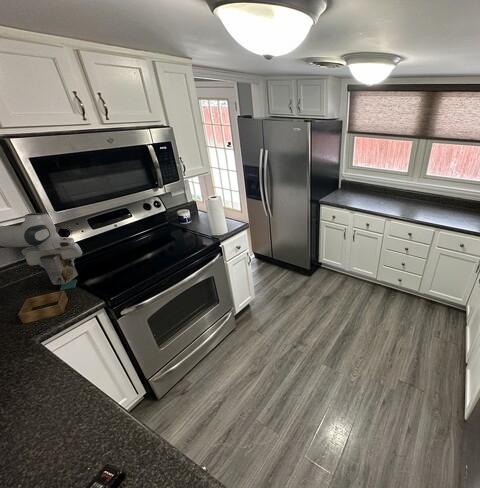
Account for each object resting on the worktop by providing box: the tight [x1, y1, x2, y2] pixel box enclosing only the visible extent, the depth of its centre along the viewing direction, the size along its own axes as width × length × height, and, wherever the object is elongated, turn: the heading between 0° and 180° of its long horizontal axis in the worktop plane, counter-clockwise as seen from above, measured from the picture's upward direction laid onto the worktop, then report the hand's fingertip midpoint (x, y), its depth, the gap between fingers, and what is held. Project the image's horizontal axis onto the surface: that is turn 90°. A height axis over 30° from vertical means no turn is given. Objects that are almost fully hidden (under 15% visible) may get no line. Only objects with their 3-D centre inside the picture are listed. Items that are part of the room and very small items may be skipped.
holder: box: [17, 290, 69, 324], centre depth 122 cm, size 13×13×5 cm
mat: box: [59, 279, 78, 291], centre depth 141 cm, size 6×8×1 cm
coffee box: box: [40, 254, 79, 286], centre depth 136 cm, size 9×6×16 cm
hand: (60, 267), depth 137 cm, fingers closed on coffee box, 8 cm apart
